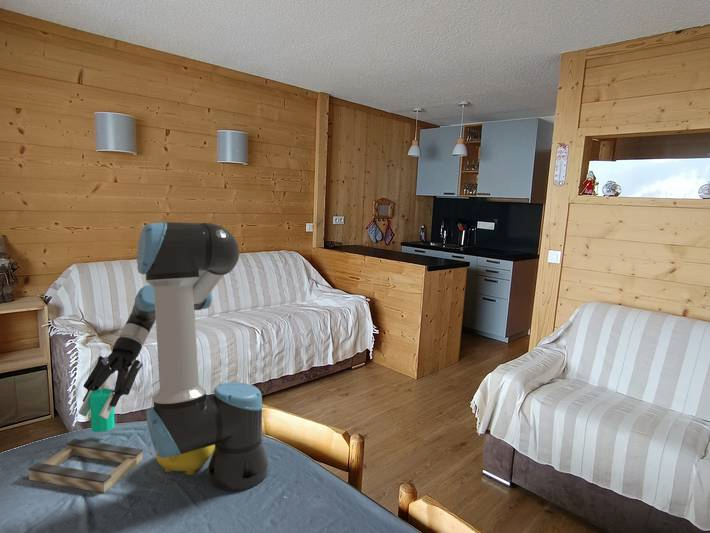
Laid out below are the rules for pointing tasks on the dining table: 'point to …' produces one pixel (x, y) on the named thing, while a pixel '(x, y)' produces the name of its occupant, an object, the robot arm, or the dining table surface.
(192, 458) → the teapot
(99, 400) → the candle
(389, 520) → the dining table surface
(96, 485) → the rectangular wooden frame
